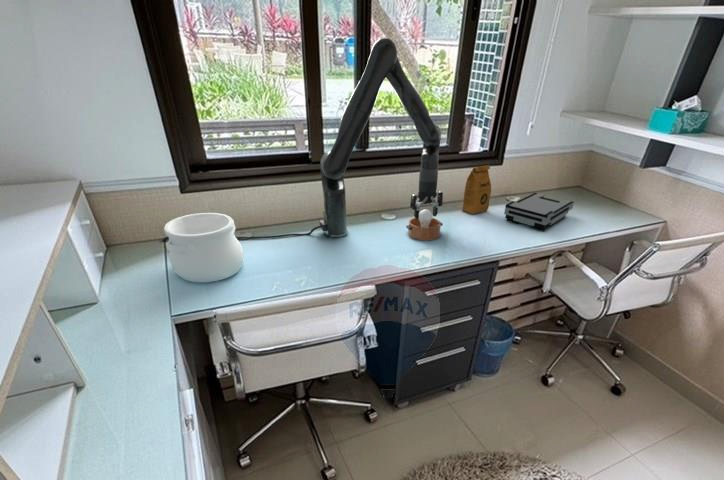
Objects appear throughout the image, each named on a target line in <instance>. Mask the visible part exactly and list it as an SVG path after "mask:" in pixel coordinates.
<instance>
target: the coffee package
mask: <svg viewBox="0 0 724 480" xmlns="http://www.w3.org/2000/svg"><path fill="white" fill-rule="evenodd" d="M490 169H491V166H490V164H488V165H481V166H476V167H473V168H472V170H471V171H470V173H469V175H468V176H467V178H466V182H465V187H464V191H463V199H462V200H463V201H462V209H461V210H462V212H466V213H469V214H472V215H474V214H479V213H483V212H487V211H488V210H489V207H490V200H491V194H492V183H491V178H490V173H489V170H490Z"/></svg>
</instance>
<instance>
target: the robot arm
mask: <svg viewBox="0 0 724 480" xmlns="http://www.w3.org/2000/svg"><path fill="white" fill-rule="evenodd" d="M385 79H386V80H387V81H388V83H389V84H390V86H391V87H392V88H393V90H394V92H395V93H396V94H395V95H397V97H398V100H399V101H400V103H401V105H402V107H403V108H404V110H405V112H406V114H407V115H408V117H409V119H410V120H411V122H412V123H413V125H414V127H415V130H416V132H417V134H418V136H419V138H420V140H421V142H422V152H421V157H420V167H419V168H420V169H419V177H418V193H417V194H414V193H412V194H411V196H410V206H409V207H410V209H412V210H413V211H414V212H413V218H416V219H419V213H420V209H421V208H422V207H423V205H428V204H432V206H433V207H432V217H433V218H434V217H437V215H438V213H439V212H438V210H439V207H442V206H443V201H444V200H443V199H444V193H443V191H441V190H438V191H437V189H438V180H439V179H438V178H439V159H440V158H439V153H440V146H441V138H442V130H441V127H439V125H438V124H436V123H434V121H433V119H432V118H431V116H430V111H429V109H428V107H427V106H426V104H425V102H424V101H423V99H422V97H421V96H420V94H419V92H418V91H417V89H416V88H415V87H414V85H413V84H412V82H411V81H410V80H409V78H408V76H407V75H406V73H405V71H404V69H403V67H402V65H401V62H400V60H399V57H398V49H397V46H396V44H395V42H394V41H393V40H392V39H391V38H389V37H381V38H379V39H377V40H376V41H375V42H374V44H373V45H372V47H371V50H370V54H369V57H368V60H367V64H366V66H365V69H364V72H363V73H362V76H361V78H360V80H359V81H358V83H357V85H356V87H355V89H354V90H353V92H352V94H351V96H350V99H349V100H348V103H347V105H346V107H345V109H344V111H343V114H342V117H341V119H340V124H339V127H338V131H337V136H336V139H335V141H334V144H333V145H332V147H331V149H330V150H329V151H327V152H325V153H324V154H323V155H322V156H321V158H320V176H321V187H322V188H321V189H322V195H323V212H322V216H323V219H322V220H319V225H317V226H314V228H312V229H311V230H310V231H309V232H306V233H285V234H284V233H283V234H276V235H263V236H261V235H260V236H235V237H236V239H237V240H247V239H248V240H256V239H274V238H281V237H282V238H283V237H290V236H291V237H293V236H298V237H299V236H309V235H311V234H312V233H314V231H315V230H317V229H321V231H322V232H324V233H325V235H326V236H327V237H328V238H342V237H346V235H347V234H348V228H347V227H348V226H347V225H348V223H347V200H346V199H347V198H346V197H347V196H346V185H345V178H344V177H345V176H344V174H345V172H346V170H347V167H348V164H349V162H350V158H351V156H352V153H353V151H354V149H355V147H356V145H357V143H358V141H359V140H360V137H361V135H362V134H363V131H364V130H365V127H366V126H367V123H368V121H369V120H370V117H371V115H372V113H373V110H374V109H375V105H376V102H377V99H378V95H379V92H380V89H381V87H382V85H383V83H384V81H385ZM436 197H437V199H436ZM436 200H437V201H436ZM166 240H169V237H168V236H165V237H163V239H162V242H166Z"/></svg>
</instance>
